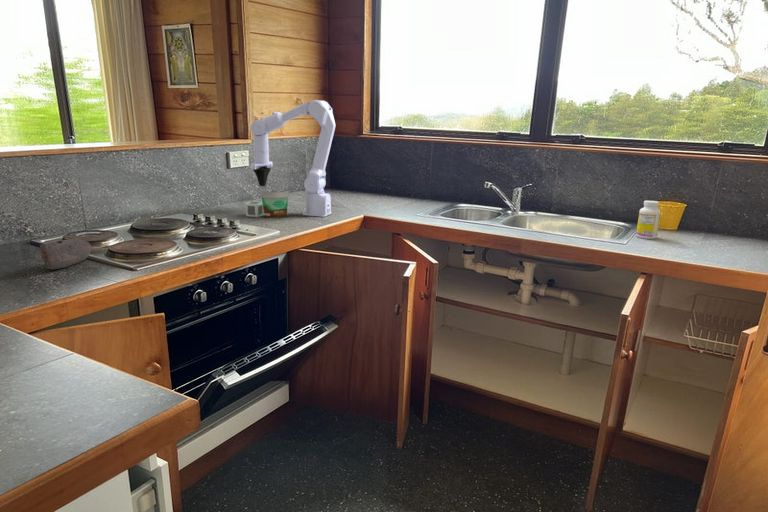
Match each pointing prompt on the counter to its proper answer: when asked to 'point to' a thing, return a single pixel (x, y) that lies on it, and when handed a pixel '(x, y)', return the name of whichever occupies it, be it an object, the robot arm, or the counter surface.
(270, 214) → the food container
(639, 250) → the counter surface
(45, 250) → the perforated stone tool
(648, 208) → the supplement bottle
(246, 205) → the letter cube
